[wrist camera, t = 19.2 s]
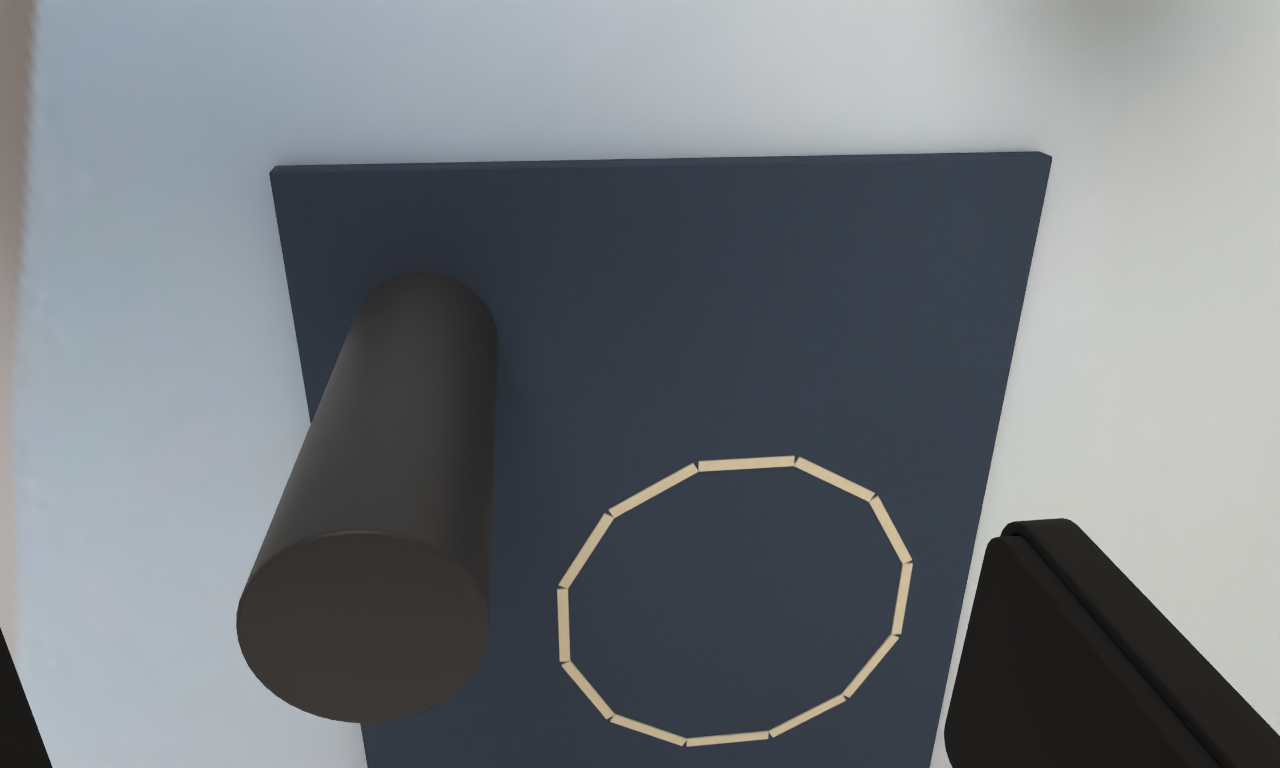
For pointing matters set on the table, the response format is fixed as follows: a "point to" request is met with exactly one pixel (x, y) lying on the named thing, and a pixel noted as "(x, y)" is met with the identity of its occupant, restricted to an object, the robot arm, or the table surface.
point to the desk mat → (703, 438)
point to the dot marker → (385, 516)
